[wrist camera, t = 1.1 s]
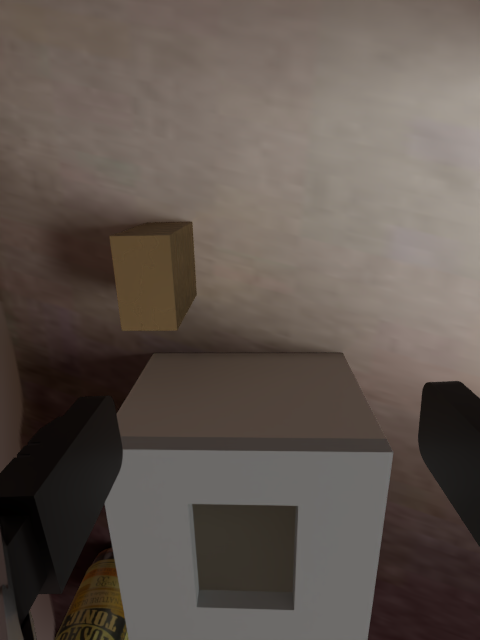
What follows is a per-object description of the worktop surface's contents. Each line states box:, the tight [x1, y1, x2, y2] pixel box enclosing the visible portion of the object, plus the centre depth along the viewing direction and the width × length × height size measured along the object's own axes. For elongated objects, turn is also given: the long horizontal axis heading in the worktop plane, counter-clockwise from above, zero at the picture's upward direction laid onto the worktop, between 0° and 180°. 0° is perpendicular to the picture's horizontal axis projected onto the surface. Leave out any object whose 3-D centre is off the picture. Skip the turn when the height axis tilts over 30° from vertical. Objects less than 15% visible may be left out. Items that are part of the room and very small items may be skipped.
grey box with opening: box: [105, 353, 393, 640], centre depth 25 cm, size 14×14×11 cm
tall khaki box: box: [109, 222, 197, 331], centre depth 23 cm, size 5×3×7 cm, turn 1°
